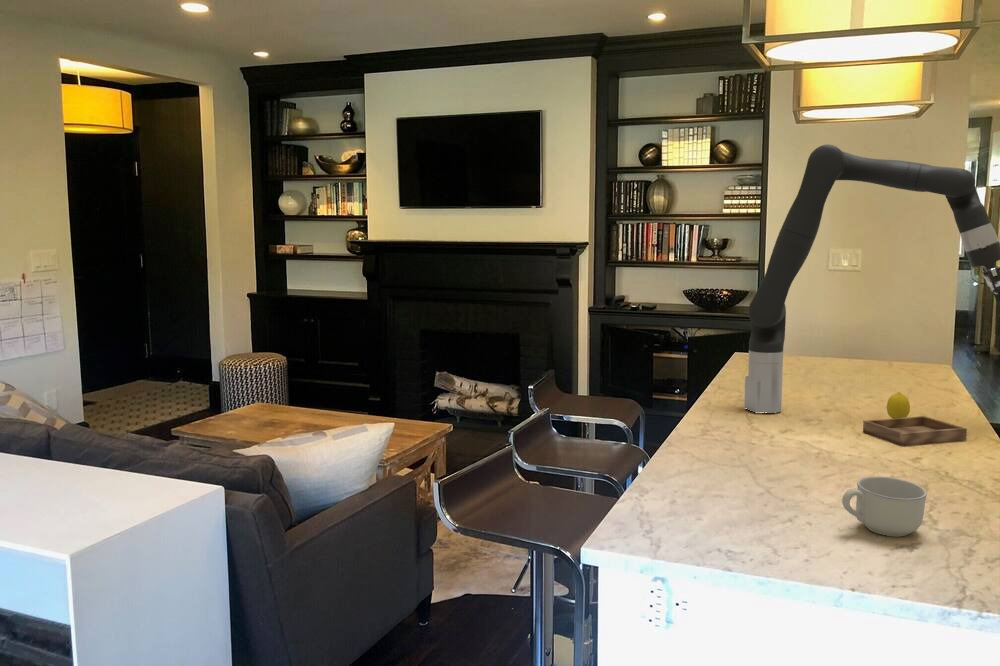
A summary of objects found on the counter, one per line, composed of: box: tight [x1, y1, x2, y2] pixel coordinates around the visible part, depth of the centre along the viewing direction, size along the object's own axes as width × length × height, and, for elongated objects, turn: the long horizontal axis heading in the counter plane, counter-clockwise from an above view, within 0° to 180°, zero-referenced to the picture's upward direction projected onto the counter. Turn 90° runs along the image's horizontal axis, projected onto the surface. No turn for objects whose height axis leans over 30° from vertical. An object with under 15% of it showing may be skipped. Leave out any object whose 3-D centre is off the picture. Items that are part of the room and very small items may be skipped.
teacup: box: [841, 475, 928, 538], centre depth 140 cm, size 14×11×8 cm
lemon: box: [886, 391, 911, 419], centre depth 217 cm, size 6×6×8 cm
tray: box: [862, 415, 968, 447], centre depth 202 cm, size 18×14×3 cm
